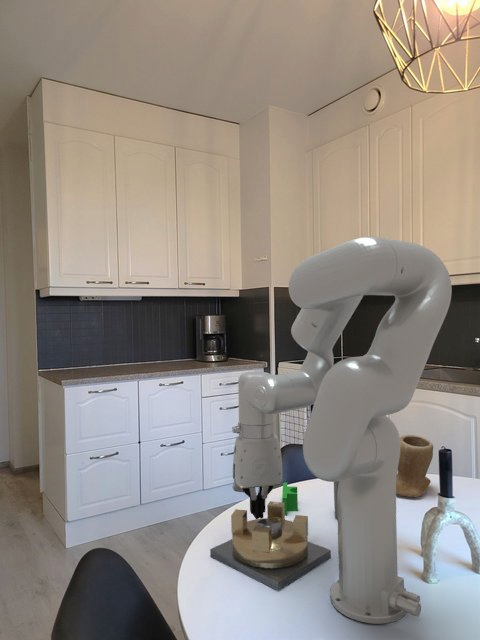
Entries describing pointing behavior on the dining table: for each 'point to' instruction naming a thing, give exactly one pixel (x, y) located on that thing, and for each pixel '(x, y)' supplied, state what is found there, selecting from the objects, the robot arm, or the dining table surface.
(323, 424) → the robot arm
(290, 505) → the pipe clamp
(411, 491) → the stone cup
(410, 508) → the dining table surface
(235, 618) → the dining table surface
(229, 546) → the mounting plate
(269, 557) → the ring nut
